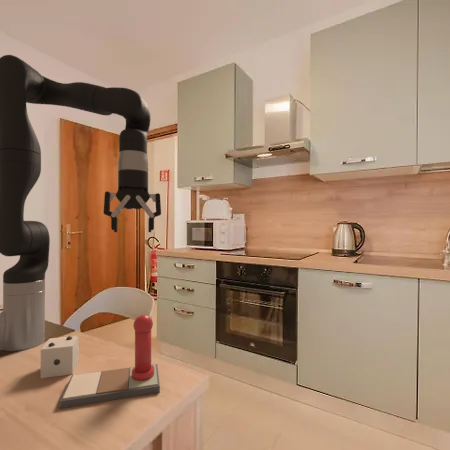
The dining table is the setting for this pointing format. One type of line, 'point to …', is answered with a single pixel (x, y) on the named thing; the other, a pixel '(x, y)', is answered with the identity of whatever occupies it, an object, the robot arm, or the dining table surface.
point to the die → (59, 356)
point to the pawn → (143, 349)
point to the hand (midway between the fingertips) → (133, 232)
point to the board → (107, 387)
